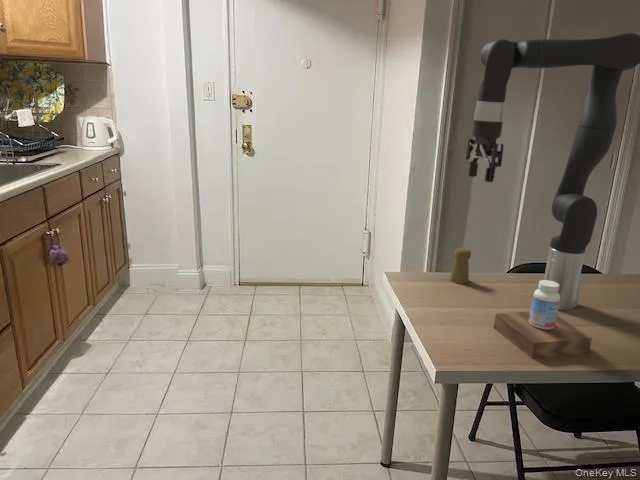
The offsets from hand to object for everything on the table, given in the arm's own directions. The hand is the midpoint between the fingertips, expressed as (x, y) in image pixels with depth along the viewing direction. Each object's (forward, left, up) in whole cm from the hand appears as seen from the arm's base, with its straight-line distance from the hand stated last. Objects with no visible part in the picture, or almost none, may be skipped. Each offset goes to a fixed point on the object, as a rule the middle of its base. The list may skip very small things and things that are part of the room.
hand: (480, 178), depth 142 cm
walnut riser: (-6, +27, -36) cm, 45 cm away
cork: (-6, -14, -36) cm, 39 cm away
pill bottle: (-6, +27, -32) cm, 42 cm away
